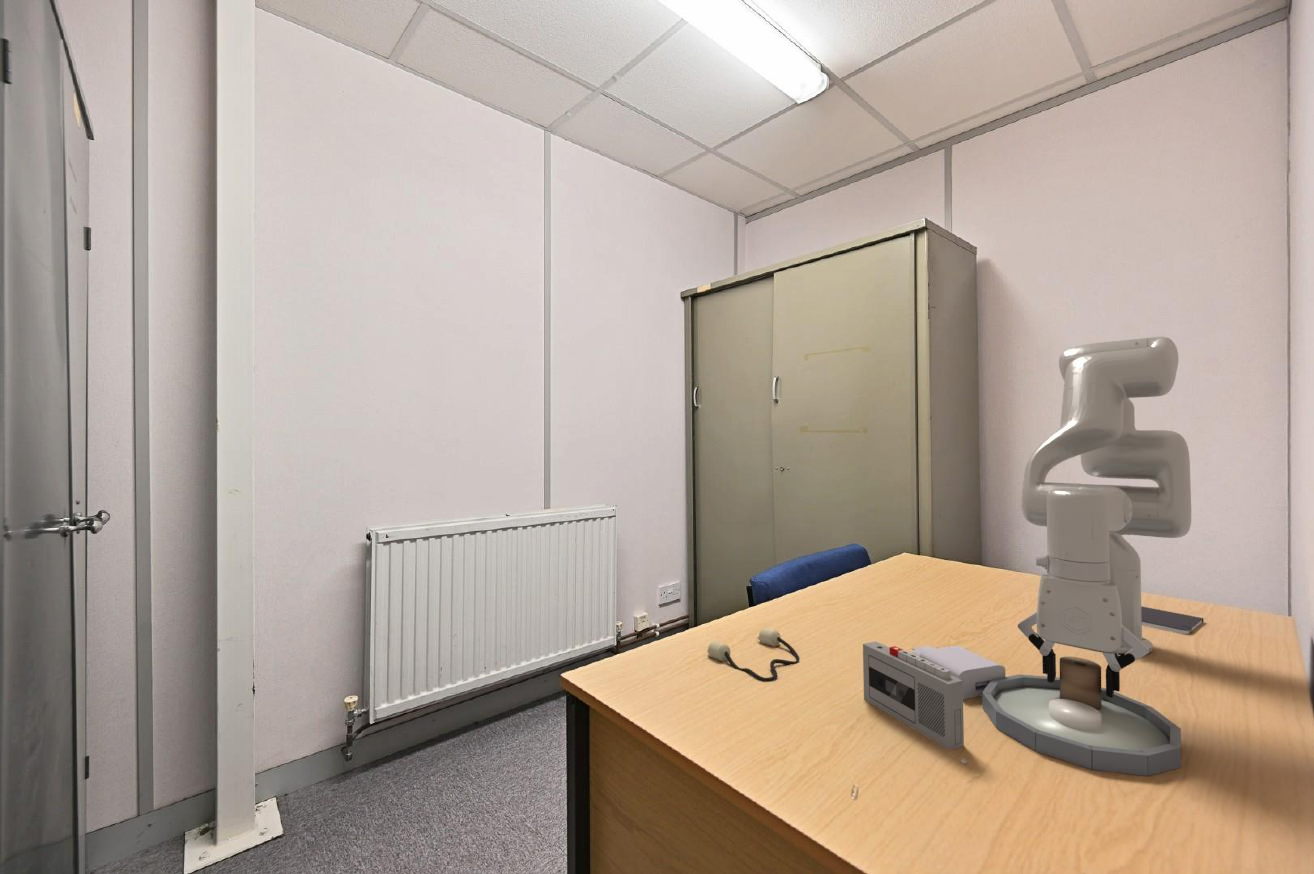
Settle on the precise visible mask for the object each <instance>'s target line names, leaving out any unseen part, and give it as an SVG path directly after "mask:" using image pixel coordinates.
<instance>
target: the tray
mask: <svg viewBox="0 0 1314 874" xmlns="http://www.w3.org/2000/svg"><path fill="white" fill-rule="evenodd" d="M981 698H982V710H983V711H984V713H985V714H986V715H987V717H988V718H989V720H990V722H991V723H992V724H993V725H994V727H995V729H996V730H999V731H1000V732H1002V733H1004V734H1005V735H1006V736H1009V737H1010V738H1012V739H1014V740H1016V741H1018V742H1019V743H1021V744H1023V745H1024V746H1026V747H1028V748H1029V749H1031V750H1033V751H1034V752H1036V753H1040V754H1044V755H1046V756H1049V757H1052V758H1055V759H1058V760H1061V761H1065V762H1068V763H1071V764H1073V765H1077V766H1080V767H1083V768H1085V769H1088V770H1089V769H1090V770H1092V771H1099V772H1100V771H1101V772H1110V773H1117V774H1118V773H1119V774H1126V775H1127V774H1128V775H1136V776H1144V777H1149V776H1154V775H1157V774H1161V773H1164V772H1168V771H1172V770H1175V769H1179V768H1182V733H1181V732H1182V730H1181V728H1180V727H1179V726H1178V725H1177V724H1175V723H1174V722H1172V721H1171V720H1170V719H1168V717H1166V716H1165V715H1164V714H1161V712H1159V711H1158V710H1157V709H1156V708H1154V707H1152V706H1150V705H1148V704H1145V703H1143V702H1141V701H1138V700H1137V699H1135V698H1131V697H1128V696H1126V695H1123V694H1121V693H1119V692H1117V691H1114V694H1113V698H1111V697H1108V696H1106V687H1102V686H1101V709H1100V710H1096V709H1095V708H1093V707H1091V706H1089V705H1086V704H1084V703H1081V702H1077V701H1073V700H1067V699H1060V677H1058V676H1056V678H1055V680H1054V682H1052V683H1050V682H1047V676H1046V675H1034V674H1033V675H1032V674H1031V675H1030V674H1022V673H1021V674H1014V675H1009V676H1006V677H1003V678H997V679H992V680H991V681H990V682H989V684H988V685H987V686H986V688H985V689H984V691H983V692H982V696H981Z"/></svg>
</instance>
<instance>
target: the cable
mask: <svg viewBox="0 0 1314 874" xmlns="http://www.w3.org/2000/svg"><path fill="white" fill-rule="evenodd" d="M757 640H758V641H759V642H760V643H761V644H764V643H765V645H767V644H768V645H769V646H772V647H777V645H778V644H782V645H783V646H784V647H786V648H787V649H788V650H789V652H791V653H792V655H793V656H794V658H795V661H793V660H785V659H779V658H775V659H772V660H771V661H770V664H769V666H770V669H771V673H772V676H769V677H763V676H761V675H759V674H757V673H756V672H755V671H753V669H750V668H747V667H743V668H742V667H739V666H738V665H737V664H736V663H735V661H734V660H733V659H732V657H731V647H729V645H728V644H725V643H721V642H718V641H717V640H716V641H715V640H714V641H711V642H710V644H709V645H708V648H707V650H706V651H707V654H708V656H709V657H710V658H713V659H715V660H718V661H721V662H726V661H728V663H729V665H730V666H731V667H732V668H733V669H735V670H737V671H740V672H744V673H747V674H749V675H750V676H752V677H753V678H755V680H758V681H760V682H764V683H765V682H768V683H769V682H774V681H775V680H777V679H778V672H777V669H776V667H775V664H781V665H786V664H787V666H789V664H792V665H796V664H799V663H800V661H799V660H800V656H799V655H798V652H797V651H796V650H795V649H794V648H793V647H792V646H791V645H790V643H788V642H787V641H785V640H784V639H783V638H782V637H781V634H780V632H779V630H774V629H770V628H766V627H764V628H762V629H761V630H760V631H759V634H758V636H757ZM778 646H779V645H778Z"/></svg>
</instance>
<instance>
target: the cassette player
mask: <svg viewBox="0 0 1314 874" xmlns="http://www.w3.org/2000/svg"><path fill="white" fill-rule="evenodd" d="M912 653H913V652H912ZM912 653H911V652H910V651H908V650H904V649H903V648H900V647H898V646H896V645H894V646H891V647H890V646H888V645H885V644H882V643H880V642H878V641H871V642H866V643H862V657H863V658H862V662H863V666H862V667H863V668H862V669H863V671H862V672H863V700H864V701H866V702H868V703H870V704H871V705H873V706H874V707H876V708H878V709H879V710H882V711H883V712H885V713H886V714H888V715H889V716H891V717H893V718H895V719H896V720H898V721H900V722H901V723H904V725H906V726H909V728H912V729H913V730H915V731H917V732H918V733H920V734H921V735H923V736H925V737H926V738H928V739H930V740H931V741H933V742H934V743H936V744H938V745H940V746H941V747H943V748H945V749H947V750H948V751H953V750H956V749H958V748H961V747H964V746H965V740H964V738H965V735H964V733H965V732H964V730H965V729H964V726H965V725H964V699H963V680H960V679H958V678H956V677H954V676H952V675H951V671H950V670H948V669H946V668H943V667H941V666H939V665H937V664H934V663H932V662H930V661H927V660H925V659H923V658H921V657H918V656H916V655H914V654H912Z"/></svg>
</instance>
